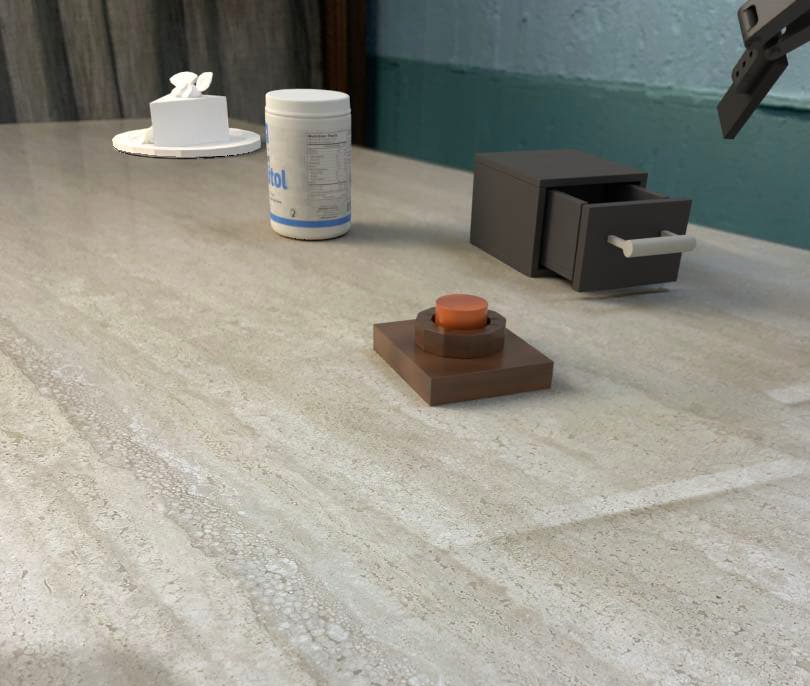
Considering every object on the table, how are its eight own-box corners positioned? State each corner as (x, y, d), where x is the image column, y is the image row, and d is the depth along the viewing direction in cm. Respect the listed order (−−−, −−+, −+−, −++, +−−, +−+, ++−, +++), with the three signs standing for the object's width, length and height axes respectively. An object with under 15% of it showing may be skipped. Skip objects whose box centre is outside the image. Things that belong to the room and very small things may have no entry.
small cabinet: (633, 267, 93) (648, 172, 88) (530, 278, 89) (540, 179, 84) (563, 234, 105) (573, 148, 99) (469, 242, 101) (474, 153, 95)
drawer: (704, 294, 83) (722, 209, 79) (603, 307, 79) (616, 218, 75) (602, 246, 97) (613, 172, 92) (512, 255, 93) (518, 178, 89)
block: (551, 389, 66) (557, 338, 64) (430, 407, 62) (432, 354, 60) (481, 335, 75) (484, 290, 73) (372, 349, 72) (373, 302, 70)
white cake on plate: (171, 130, 163) (163, 62, 157) (287, 141, 155) (283, 70, 149) (82, 149, 144) (69, 73, 138) (209, 164, 136) (201, 83, 130)
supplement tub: (256, 228, 104) (247, 91, 96) (323, 217, 109) (319, 86, 101) (298, 246, 98) (292, 101, 89) (367, 234, 102) (367, 96, 94)
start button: (495, 329, 66) (497, 307, 65) (447, 335, 65) (448, 313, 64) (472, 313, 69) (474, 291, 68) (426, 318, 68) (427, 296, 67)
